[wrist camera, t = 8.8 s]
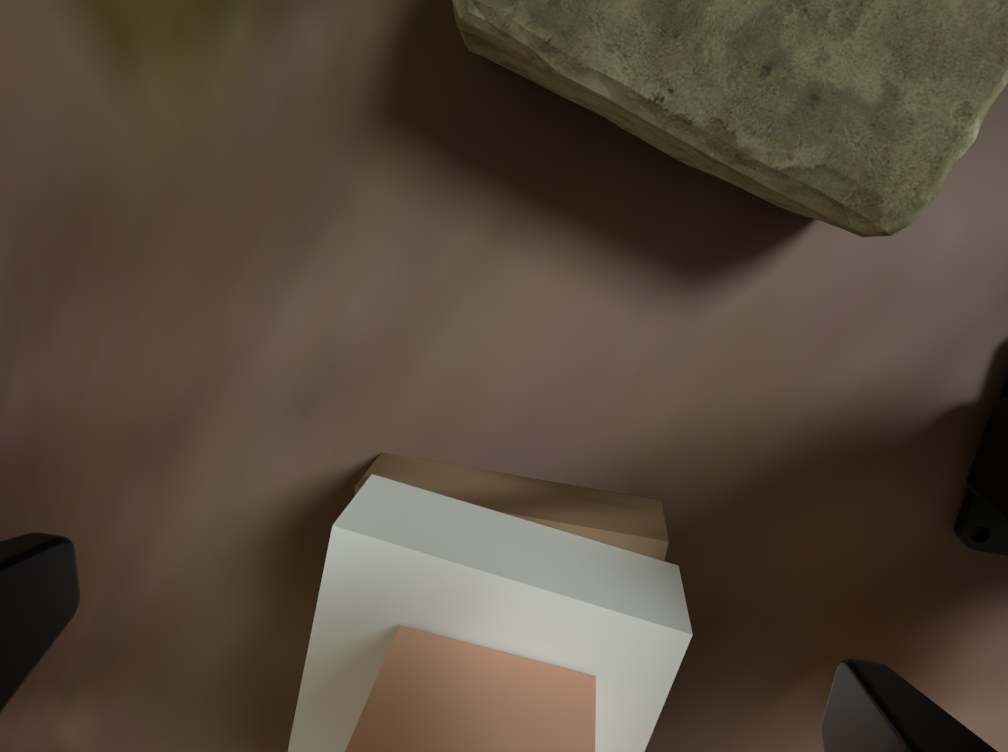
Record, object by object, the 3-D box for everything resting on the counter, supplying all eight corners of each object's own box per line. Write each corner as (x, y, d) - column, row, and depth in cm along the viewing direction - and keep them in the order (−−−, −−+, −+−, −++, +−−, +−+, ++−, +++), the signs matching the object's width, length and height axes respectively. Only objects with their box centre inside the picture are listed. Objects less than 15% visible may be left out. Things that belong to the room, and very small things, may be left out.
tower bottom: (660, 492, 21) (668, 541, 19) (612, 718, 24) (613, 790, 21) (386, 446, 22) (355, 486, 19) (370, 668, 25) (340, 731, 22)
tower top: (678, 565, 19) (692, 634, 16) (587, 801, 22) (584, 895, 19) (371, 473, 19) (332, 525, 16) (320, 715, 22) (278, 795, 19)
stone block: (833, 240, 18) (912, 262, 14) (454, 50, 18) (401, 7, 14) (969, 24, 17) (1117, -38, 12) (549, -186, 17) (526, -333, 12)
